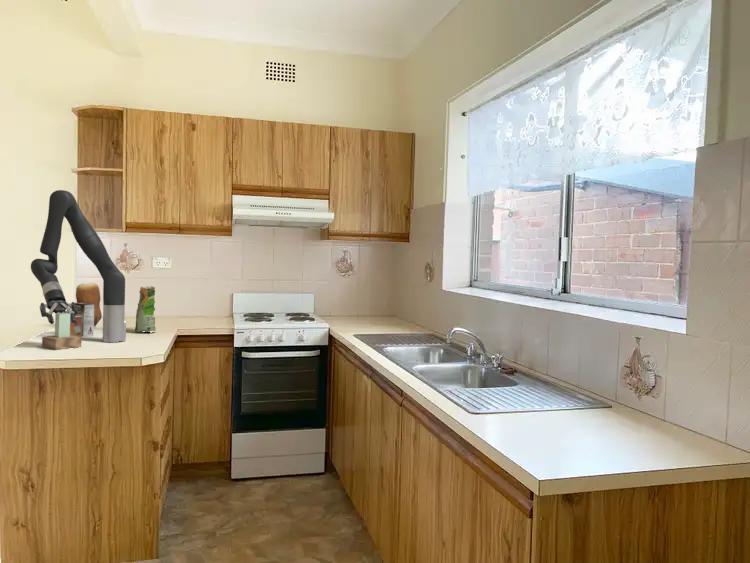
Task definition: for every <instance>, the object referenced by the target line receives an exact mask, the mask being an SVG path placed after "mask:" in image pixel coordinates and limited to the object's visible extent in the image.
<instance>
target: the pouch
mask: <svg viewBox="0 0 750 563" xmlns="http://www.w3.org/2000/svg"><path fill="white" fill-rule="evenodd" d="M155 289H156V287H155V286H148V285H147V286H146V287H144V286H140V289H139V301H138V303H137V309H136V315H135V326H134V327H135V328H134V332H137V333H141V332H140V331H145V332H150V331H155V332H156V329H157V328H156V318H155V314H154V313H155V310H156V308H155V303H156V301H155V295H156V294H155V293H156V290H155Z"/></svg>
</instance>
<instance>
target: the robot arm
mask: <svg viewBox="0 0 750 563" xmlns="http://www.w3.org/2000/svg"><path fill="white" fill-rule="evenodd" d="M47 213H48V214H47V220H46V225H45V228H44V233H43V236H42V240H41V243H40V248H39V252H40V254H43V255H45V256H47V258H48V259H43V258H35V259H33V260H32V261H31V263H30V270H31V273H32V275H34V277H35V278H36V279H37V281H38V282H39V283H40V286H41V290H42V296H43V297H44V299H45V300H44V301H45V303H44V302H40V305H39V312H40V315H41V317H42V318H45V317H46V318H47V321H48V323H49V324H50V325H54V324H55V319H54V316H53V314H56V313H69V314H70V319H71V322H72V323H74V322H75V320H76V317H75V316H76V315H77V313H78V309H77V307H76V305H75V303H76V302H74V301H72V302H71V303H69V302H68V301H66V297H65V295H64V291H63V288H62V286H61V285H60V281H59V279H58V277H57V275H56V273H57V272H58V268H59V267H58V265H59V264H58V253H59V252H58V250H59V247H60V243H61V239H62V230H63V229H62V227H63V223H64V219H66V221H67V222H68V224H69V227H70V229H71V232H72V234H73V238H74V239H75V241H76V243H77V244H78V246H79V248H80V249H81V250H82V252H83V253H84V255H85V256H86V257H87V258H88V260H90V261H91V262H92V264H93V265H94V267H96V269H97V272H99V274H100V276H101V278H102V281H103V283H102V284H103V287H102V289H103V290H102V292H103V293H102V296H103V297H102V298H103V299H102V302H103V304H102V305H103V306H102V311H103V312H102V342H104V343H120V342H119V341H122V342H125V341H124V340H126V341H127V320H125V308H126V307H125V304H126V303H125V302H126V278H125V275H124V274H123V272H121V270H120V269H119V268H118V267H117V266H116V265H115V263H114V261H113V260H112V258H111V257H110V255H109V254H108V250H107V248H106V247H105V244H104V243H103V241H102V239H101V238H100V236H99V234H98V233H97V232H96V230H95V229H94V227H93V226H92V224H91V223H90V222H89V221H88V219H87V218H86V216H85V215H84V214H83V212H82V210H81V208H80V206H79V204H78V202H77V199H76V198H75V196H74V194H73V193H71V191H68V190H65V189H64V190H63V189H58V190H54V191H53V192H52V193H51V194H50V196H49V201H48V212H47ZM46 309H48V310H49V311H48V312H47V311H46Z"/></svg>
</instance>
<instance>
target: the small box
mask: <svg viewBox="0 0 750 563" xmlns="http://www.w3.org/2000/svg"><path fill="white" fill-rule="evenodd" d="M75 317H76V320H75V322H74V323H72V322H71V319H70V335H73V336H79V337H81V338H82V336H81V335H82V316H75Z"/></svg>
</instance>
